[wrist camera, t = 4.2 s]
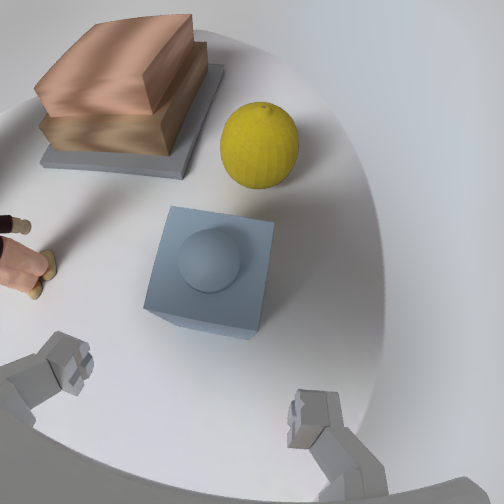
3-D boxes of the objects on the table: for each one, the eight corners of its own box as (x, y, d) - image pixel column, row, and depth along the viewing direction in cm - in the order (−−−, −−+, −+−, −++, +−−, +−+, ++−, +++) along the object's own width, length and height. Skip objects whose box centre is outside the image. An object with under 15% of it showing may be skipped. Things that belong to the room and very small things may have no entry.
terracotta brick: (55, 150, 23) (20, 97, 15) (108, 71, 27) (93, 21, 20) (169, 156, 23) (149, 83, 15) (208, 70, 27) (205, 10, 20)
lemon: (287, 155, 25) (305, 86, 17) (288, 209, 23) (312, 144, 15) (225, 150, 24) (223, 79, 17) (218, 205, 23) (212, 136, 15)
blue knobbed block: (177, 326, 19) (137, 305, 11) (192, 258, 21) (167, 197, 13) (248, 339, 19) (259, 329, 11) (260, 270, 21) (276, 214, 13)
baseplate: (43, 167, 23) (39, 162, 22) (106, 71, 29) (104, 66, 28) (182, 179, 23) (180, 172, 22) (224, 71, 29) (224, 64, 28)
